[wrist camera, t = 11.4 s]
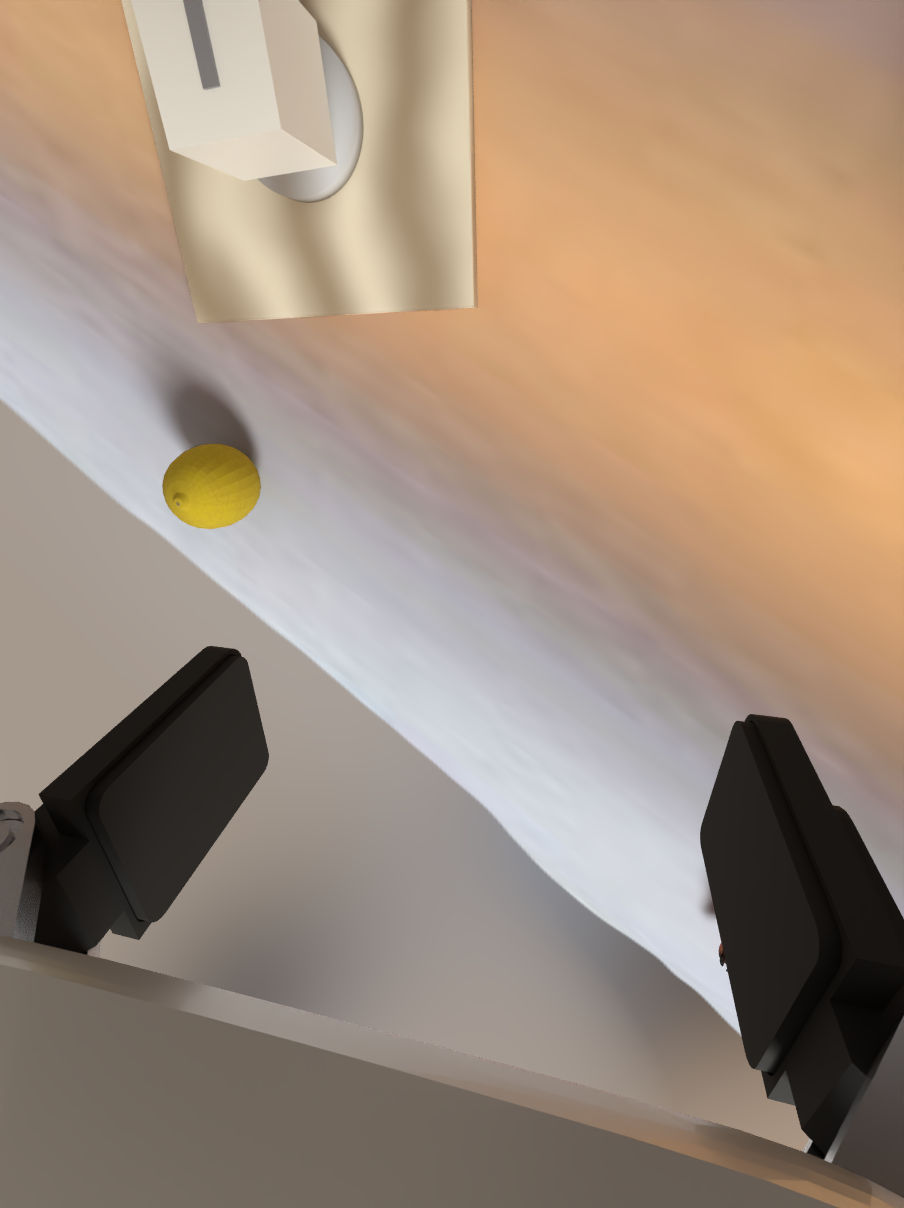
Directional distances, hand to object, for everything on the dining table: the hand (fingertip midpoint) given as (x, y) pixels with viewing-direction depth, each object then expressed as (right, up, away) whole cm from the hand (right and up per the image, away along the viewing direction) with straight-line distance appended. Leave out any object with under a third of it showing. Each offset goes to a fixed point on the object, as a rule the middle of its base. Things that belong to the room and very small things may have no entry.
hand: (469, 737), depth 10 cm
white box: (-9, +28, +15) cm, 33 cm away
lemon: (-16, +13, +30) cm, 36 cm away
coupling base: (-8, +29, +19) cm, 36 cm away
